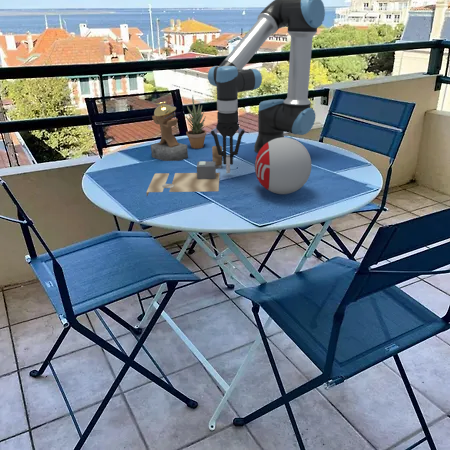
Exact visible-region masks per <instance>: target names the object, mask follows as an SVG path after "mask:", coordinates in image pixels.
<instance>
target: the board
mask: <svg viewBox="0 0 450 450" xmlns="http://www.w3.org/2000/svg"><path fill="white" fill-rule="evenodd" d="M220 173H221V172H216V178H215V179H197V172H175V173H174V176H173V179H172V182H171V183H167V181H168V178H169V175H170V173H169V172H168V173H167V172H165V173H163V172H159V173H154V175H153V177H152V179H151V181H150V183H149V185H148V188H147V190H146V193H145V194H146V197H148V196H149V194H150V193H163V192H164V189H169V192H168V193H184V192H185V193H190V192H191V193H193V192H194V193H195V192H197V193H198V192H199V193H200V192H205V193H206V192H208V193H209V192H219V191H220V190H219V188H220Z"/></svg>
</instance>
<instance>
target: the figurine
mask: <svg viewBox="0 0 450 450" xmlns="http://www.w3.org/2000/svg"><path fill="white" fill-rule="evenodd" d="M155 105H158V106H157V107H156V108H155V109H154V112H153V115H152V116H151V118H152V120H153V122H154V124H155V125H159V128H160V132H161V133H160V134H161V137H160V141H158V142H155V143H153V144H152V143H151V144H150V151H151V158H153V159H157V160H160V161H164V162H179V161H182V160H185V159H188V158H189V156H188V154H189V152H188V144H184V143H181V142H178V140H177V138H176V136H175V135H174V134H173V129H172V127H175V126H177V123H178V121H179V120H178V118H175V117H176V110H177V107H176V106H174V105H170V104H167V101H162V102H156V103H155Z"/></svg>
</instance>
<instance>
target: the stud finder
mask: <svg viewBox="0 0 450 450" xmlns="http://www.w3.org/2000/svg"><path fill="white" fill-rule="evenodd" d="M196 173H197V179H215V178H216V173H217V168H216V161H213V160H211V161H203V160H202V161H201V160H200V161H197V163H196Z"/></svg>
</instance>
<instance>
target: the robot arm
mask: <svg viewBox="0 0 450 450" xmlns="http://www.w3.org/2000/svg"><path fill="white" fill-rule="evenodd" d="M325 9H326V8H325V5H324V2H323V0H273V1H271V2H270V3H269V4H268V5H266V7H265V8H264V9H263V10H262V11H261V12H260V13H259V14H258V16H257V18H256V19H257V20H256V22H255V23H254V24H253V26H252V27H251V28H250V29H249V30H248V31H247V33H245V35H244V36H243V37H242V39H241V40H240V41H239V42H238V43H237V45H236V46H235V47H234V48H233V49H232V51H231V52H230V53H229V54H228V55H227V57H226V58H225V59H224V60H223V61H221V63H220V64H219V65H214V66H212V67H210V69H209V70H208V72H207V80H208V82H209V84H210V85H212V86H213V87H216V110H217V112H216V114H217V115H216V117H217V124H216V125H215V126H216V127H215V128H213V129H211V130H210V134H211V135H212V137H213V139H214V144H215V146H216V147H217V151H218V155H221V156H222V165H226V167H225V168H226V169H225V171H226V172H225V173H226V174H231V165H233V164H234V156H237V155H238V154H239V150H240V146H241V141H242V138H243V136H244V134H245V132H246V131H245V128H242V127H240V124H239V123H238V120H239V118H238V117H239V116H238V115H239V112H238V108H239V107H238V105H239V104H238V103H239V102H238V101H239V99H238V95H239V94H240V93H243V92H244V93H245V92H249V91H250V92H251V91H254V90H257V89H259V88H260V87H261V85H262V83H263V82H262V81H263V76H262V73H261V71H260V70H258V69H257V68H247V69H244V68H245V67H246V65H247V64H248V63H249V61H250V60H251V59H252V58H253V56H254V55H255V54H256V53H257V52H258V51H259V50H260V48H261V47H262V46H263V44H265V42H266V41H267V40H268V39H269V37H270V36H271V35H273V34H276V32H278V31H279V29H281V28H285V27H287V33H288V35H289V36H290V45H289V48H290V51H289V65H288V78H287V95H286V96H287V97H286V98H285V99H283V98H282V99H281V98H278V99H275V98H274V99H268V100H263V101H260V103H259V105H258V113H257V114H258V115H257V117H258V119H257V120H258V122H257V124H258V126H257V127H258V130H257V131H258V133H257V136H256V141H255V143H254V147H253V148H254V149H253V150H254V152H255V153H257V154H258V152H259V151H260V149H261V148H262V147H263V146H264V145H265V144H266V143H267V142H269V141H271V140H273V139H276V138H282V137H285V135H284V134H285V133H289V134H293V135H298V136H304V135H306V134H308V133H309V132H310V131H311V130H312V128H313V127H314V124H315V121H316V112H315V110H314V108H312V107H311V105H312V102H311V100H310V99H309V98H308V96H309V87H310V86H309V85H310V72H311V61H312V50H313V37H314V36H315V35H316V34H317V33H318V28H320V27H321V26H322V24H323V22H324V20H325V15H326V10H325ZM218 133H219V134H220V135H221V136H222V151H221V148H220V146H221V145H220V140H219V138H218V137H219V136H218ZM236 133H238V136H237V140H236V144H235V149H234V140H233V139H234V136H235V135H236ZM227 137H229V154H227Z"/></svg>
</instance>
